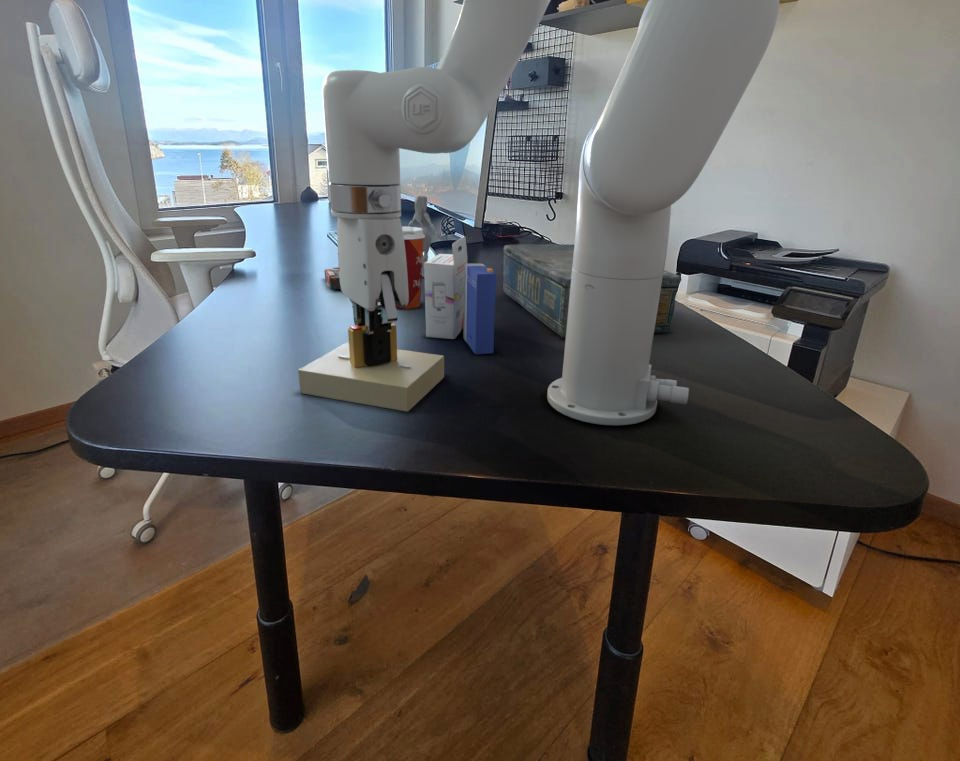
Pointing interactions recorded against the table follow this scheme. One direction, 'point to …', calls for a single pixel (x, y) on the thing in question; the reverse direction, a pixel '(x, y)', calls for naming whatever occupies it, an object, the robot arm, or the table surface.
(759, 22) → the robot arm
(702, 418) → the table surface
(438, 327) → the ink cartridge box
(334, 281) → the brown red carton
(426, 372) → the plate
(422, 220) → the human figurine
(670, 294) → the metal box
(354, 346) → the block
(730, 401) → the table surface
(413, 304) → the paper cup
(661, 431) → the table surface
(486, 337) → the walkman
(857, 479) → the table surface
